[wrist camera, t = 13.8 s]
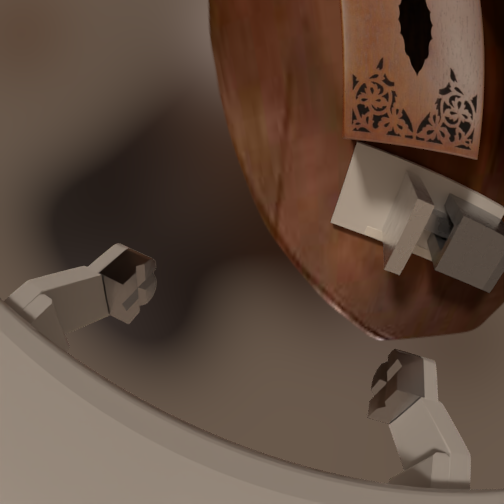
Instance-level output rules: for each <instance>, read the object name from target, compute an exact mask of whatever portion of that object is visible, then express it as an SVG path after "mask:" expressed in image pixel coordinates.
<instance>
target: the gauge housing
mask: <svg viewBox="0 0 504 504" xmlns="http://www.w3.org/2000/svg"><path fill="white" fill-rule="evenodd" d="M444 207H445V209H446V211H447V213H448V215H449V217H450V219H451V220H452V222H453V224H454V227H453V229H452V231H451V233H450V235H449V237H448V238H447V239H446V238H444V237H442V236H439V235H437V234H435V233H432V232H431V234H430V236H429V238H428V240H427V244H428V247H429V251H430V254H431V258H432V262H433V265H434V269H435V270H436V271H438V272H441V273H443V274H446V275H448V276H451V277H453V278H456V279H458V280H460V281H463V282H465V283H467V284H470V285H472V286H475V287H477V288H479V289H481V290H484V291H486V292H488V293H490V291H491V290H492V289H493V287H494V286H495V284H496V283H497V281H498V280H499V278H500V276H501V275H502V273H503V272H504V222H503V221H502V220H501V219H500V218H498V217H496V216H494V215H493V214H491V213H489V212H487V211H485V210H483V209H481V208H479V207H477V206H475V205H473V204H471V203H469V202H467V201H465V200H463V199H461V198H459V197H457V196H455V195H453V194H451V193H449V196H448V198H447V200H446V202H445V205H444Z"/></svg>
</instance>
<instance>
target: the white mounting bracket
mask: <svg viewBox="0 0 504 504" xmlns="http://www.w3.org/2000/svg"><path fill="white" fill-rule="evenodd" d="M434 207H435V205H434V203H433V201H432V199H431V197H430V195H429V193H428V191H427V189H426V187H425V185H424V183H423V181H422V179H421V177H420V176H418V175H416V174H414V173H411V172H409V171H407V170H406V172H405V175H404V178H403V180H402V183H401V185H400V188H399V190H398V193H397V195H396V198H395V200H394V202H393V205H392V207H391V210H390V212H389V214H388V217H387V219H386V221H385V223H384V226H383V228H382V235H383V254H384V270H387V271H390V272H392V273H395V274H398V275H400V274H401V272H402V270H403V268H404V266H405V264H406V263H407V261H408V259H409V257H410V255H411V253H412V251H413V249H414V248H415V246H416V244H417V242H418V240H419V238H420V236H421V234H422V232H423V230H424V229H425V230H428V231H430V232H432V233H435V234H437V235H439V236H442V237H444V238H446V239H447V238H448V237H449V235H450V233H451V231H452V229H453V227H454V224H453V222H452V220H451V219H450V217H449V215H447V214H445V213H443V212H441V211H439V210H437V209H434Z"/></svg>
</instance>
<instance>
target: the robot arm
mask: <svg viewBox="0 0 504 504" xmlns="http://www.w3.org/2000/svg"><path fill="white" fill-rule="evenodd" d="M155 269H156V261H155V260H154V259H153V258H151V257H148V256H146V255H144V254H142V253H139V252H137V251H135V250H133V249H131V248H128V247H126V246H124V245H122V244H120V243H119V244H115V245H114V246H112V247H111V248H110V249H109V250H108V251H106V252H105V253H104V254H103V255H101V256H100V257H99V258H98V259H97V260H95V261H94V262H93V263H92V264H91V265H90V266H88V267H86V266H81V267H78V268H73V269H70V270H66V271H62V272H58V273H54V274H50V275H46V276H43V277H39V278H35V279H32V280H28V281H26V282H25V283H24V284H23V285H22V286H20V287H19V288H18V289H17V290H16V291H15V292H13V293H12V294H11V295H10V296H9V297H8V298H7V299H6V300H5V301H3V300H2V299H1V298H0V504H504V489H482V490H481V489H480V490H470V473H471V455H470V453H469V451H468V449H467V447H466V445H465V444H464V442H463V440H462V438H461V436H460V434H459V432H458V431H457V429H456V427H455V425H454V423H453V422H452V420H451V418H450V416H449V414H448V413H447V411H446V409H445V407H444V406H443V404H442V403H441V402H439V401H438V388H437V373H436V363H435V361H434V360H431V359H428V358H425V357H420V356H418V355H414V354H411V353H408V352H405V351H401V350H398V349H394V350H392V351H391V353H390V354H389V355H388V361H387V362H385V363H382V364H381V365H380V366H379V368H378V369H377V371H376V373H375V375H374V377H373V381H372V386H371V391H372V393H373V395H374V397H373V398H372V399H371V400H370V401H369V410H368V417H367V418H369V419H372V420H376V421H380V422H383V423H387V424H390V425H389V427H390V430H391V433H392V436H393V439H394V442H395V444H396V448H397V450H398V453H399V456H400V460H401V463H402V466H403V469H404V471H403V472H401V473H399V474H397V475H395V476H393V477H392V478H390V479H389V483H381V482H375V481H369V480H364V479H358V478H353V477H348V476H344V475H339V474H335V473H330V472H326V471H322V470H318V469H314V468H311V467H307V466H303V465H300V464H296V463H293V462H289V461H286V460H283V459H280V458H277V457H273V456H270V455H267V454H264V453H262V452H259V451H256V450H253V449H250V448H248V447H245V446H242V445H240V444H237V443H234V442H232V441H229V440H227V439H224V438H222V437H219V436H217V435H214V434H212V433H210V432H208V431H205V430H203V429H201V428H198V427H196V426H194V425H192V424H190V423H188V422H185V421H183V420H181V419H179V418H177V417H175V416H173V415H171V414H169V413H167V412H165V411H163V410H161V409H159V408H157V407H155V406H153V405H152V404H150V403H148V402H146V401H144V400H142V399H140V398H139V397H137V396H135V395H133V394H132V393H130V392H128V391H126V390H124V389H123V388H121V387H120V386H118V385H116V384H115V383H113V382H111V381H110V380H108V379H106V378H105V377H103V376H102V375H100V374H99V373H97V372H95V371H94V370H92V369H91V368H89V367H88V366H86V365H85V364H83V363H82V362H80V361H79V360H77V359H76V358H74V357H73V356H72V355H70V354H69V353H67V351H68V350H69V343H68V341H67V338H66V336H65V334H67V333H70V332H72V331H75V330H77V329H79V328H82V327H84V326H86V325H89V324H91V323H93V322H95V321H98V320H100V319H102V318H104V317H107V316H109V314H110V315H112V316H113V317H115V318H117V319H119V320H121V321H123V322H125V323H127V324H129V323H130V322H131V321H132V320H133V319H134V318H135V316H136V315H137V314H138V313H139V311H140V305H144V304H147V303H148V302H149V300H150V299H151V298H152V296H153V294H154V292H155V288H156V277H155V276H154V274H153V271H154V270H155Z"/></svg>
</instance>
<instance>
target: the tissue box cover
mask: <svg viewBox="0 0 504 504" xmlns="http://www.w3.org/2000/svg"><path fill="white" fill-rule="evenodd" d="M340 14H341V31H342V58H343V132H342V139H353V140H362V141H371V142H379V143H386V144H394V145H401V146H407V147H414V148H420V149H425V150H431V151H437V152H442V153H447V154H452V155H457V156H462V157H466V158H471V159H475V160H477V158H478V151H479V143H480V135H481V125H482V114H483V99H484V37H483V23H482V12H481V4H480V0H340Z"/></svg>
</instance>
